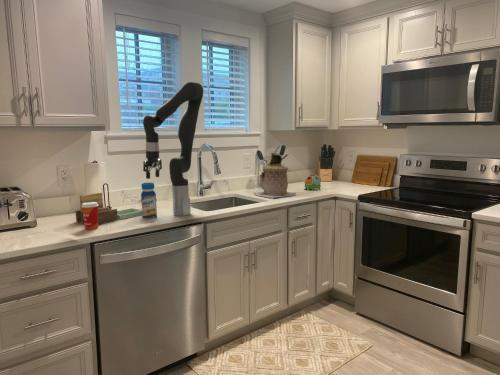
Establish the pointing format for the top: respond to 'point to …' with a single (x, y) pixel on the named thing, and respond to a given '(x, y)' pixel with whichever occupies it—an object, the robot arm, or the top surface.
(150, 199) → the beverage bottle
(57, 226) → the top surface
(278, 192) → the utensil crock
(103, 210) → the offcut
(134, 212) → the tray
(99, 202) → the wood grain block
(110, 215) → the rack
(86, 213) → the paper cup
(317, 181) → the turtle holder
